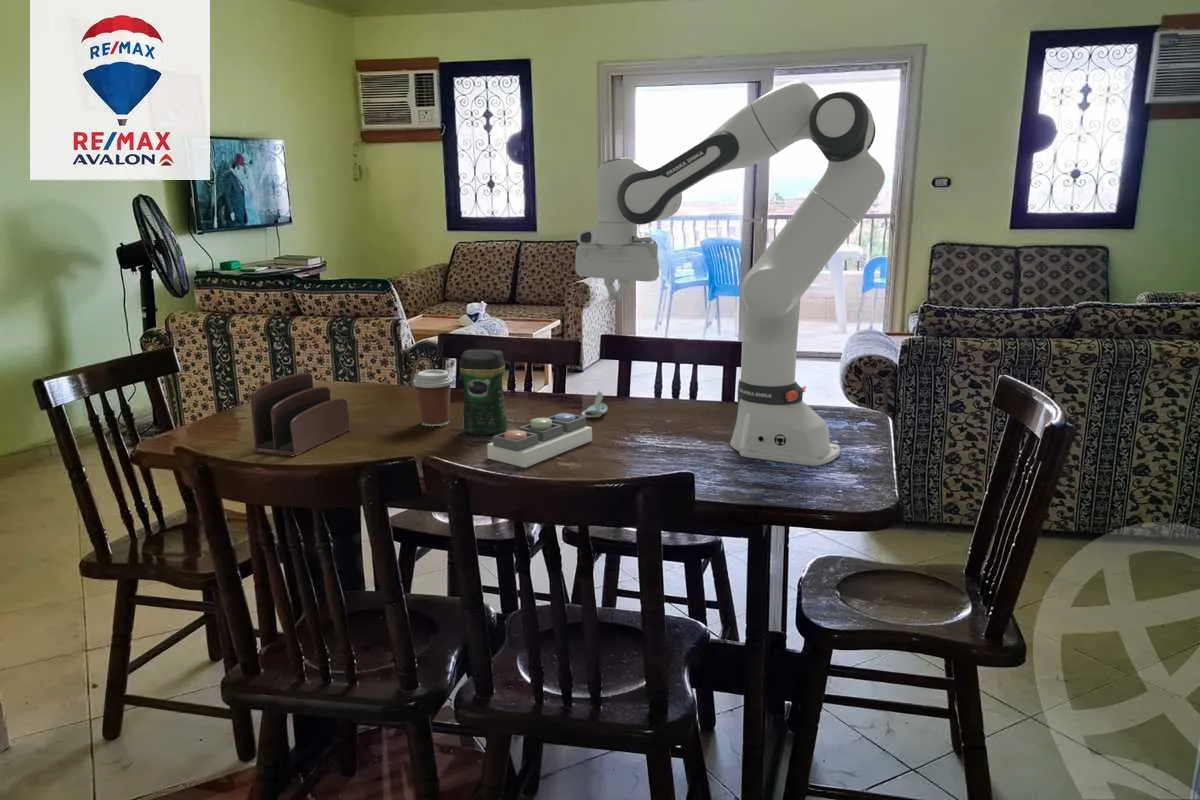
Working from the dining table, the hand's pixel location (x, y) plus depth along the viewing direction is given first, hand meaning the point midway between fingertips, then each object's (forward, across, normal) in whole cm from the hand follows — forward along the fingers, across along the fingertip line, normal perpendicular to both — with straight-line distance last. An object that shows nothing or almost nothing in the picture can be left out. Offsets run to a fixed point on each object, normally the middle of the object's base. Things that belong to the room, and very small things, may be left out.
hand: (616, 299), depth 185 cm
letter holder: (+30, +48, +48) cm, 75 cm away
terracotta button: (+25, +3, +31) cm, 40 cm away
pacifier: (+30, +10, -5) cm, 32 cm away
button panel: (+29, +3, +23) cm, 37 cm away
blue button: (+25, +3, +15) cm, 30 cm away
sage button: (+25, +3, +23) cm, 34 cm away
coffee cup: (+29, +36, +22) cm, 51 cm away
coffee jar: (+29, +22, +20) cm, 42 cm away
